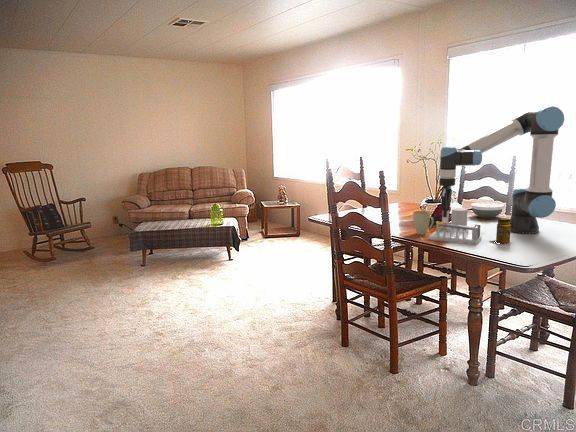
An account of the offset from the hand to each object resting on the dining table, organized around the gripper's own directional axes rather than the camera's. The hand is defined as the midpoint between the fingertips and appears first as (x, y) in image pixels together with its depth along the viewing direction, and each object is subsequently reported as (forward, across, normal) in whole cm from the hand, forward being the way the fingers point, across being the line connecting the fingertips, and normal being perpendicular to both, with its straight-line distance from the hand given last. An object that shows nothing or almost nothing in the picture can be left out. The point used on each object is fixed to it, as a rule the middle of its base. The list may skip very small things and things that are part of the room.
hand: (445, 222), depth 214 cm
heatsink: (+8, 0, +5) cm, 10 cm away
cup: (+8, -21, +2) cm, 23 cm away
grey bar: (+3, 0, +7) cm, 7 cm away
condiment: (+8, -3, +26) cm, 28 cm away
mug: (+9, -5, -13) cm, 16 cm away
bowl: (+8, -63, +9) cm, 64 cm away
